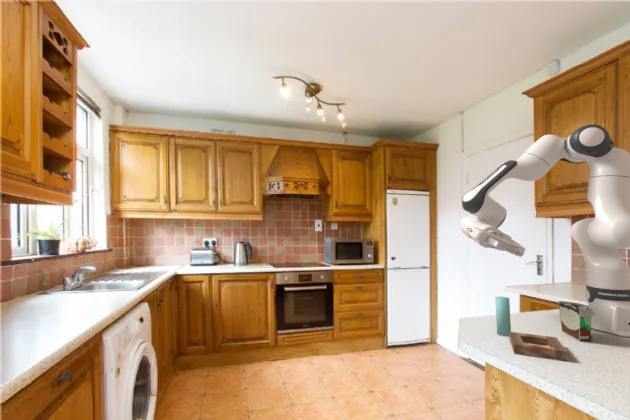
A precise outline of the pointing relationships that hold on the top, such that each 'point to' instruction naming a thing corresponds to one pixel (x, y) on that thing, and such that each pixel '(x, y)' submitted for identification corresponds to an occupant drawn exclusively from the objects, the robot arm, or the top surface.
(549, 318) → the top surface
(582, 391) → the top surface
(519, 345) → the hole plate
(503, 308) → the teal peg
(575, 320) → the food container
